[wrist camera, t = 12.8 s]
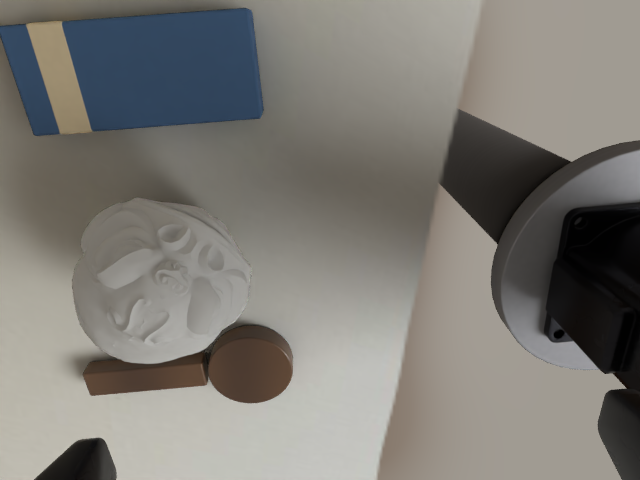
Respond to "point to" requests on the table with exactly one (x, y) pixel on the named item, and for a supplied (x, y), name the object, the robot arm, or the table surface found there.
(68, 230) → the table surface
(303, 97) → the table surface
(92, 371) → the brown disc with handle
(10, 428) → the table surface
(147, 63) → the blue eraser
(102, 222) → the frog figurine
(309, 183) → the table surface
